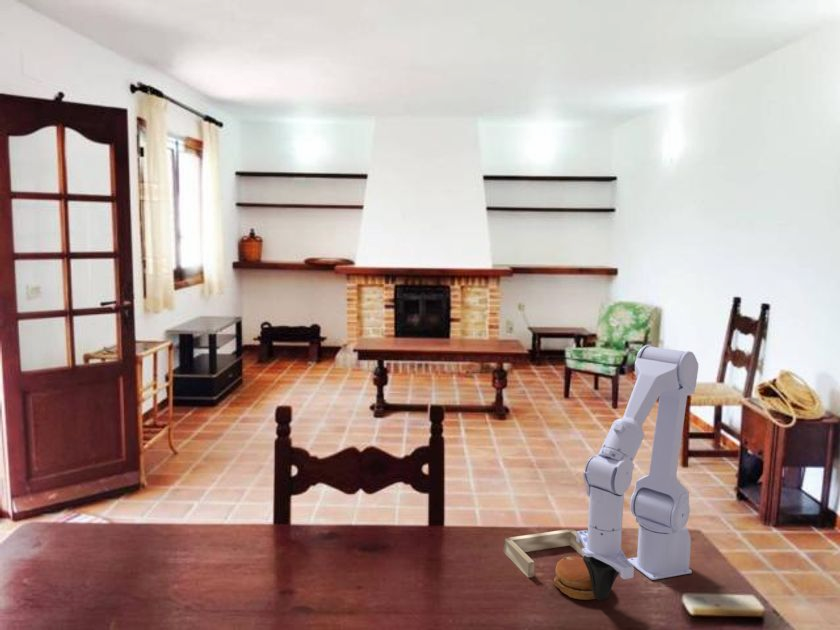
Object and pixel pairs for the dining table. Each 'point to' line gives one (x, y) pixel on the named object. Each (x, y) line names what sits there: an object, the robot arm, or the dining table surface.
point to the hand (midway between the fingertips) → (601, 597)
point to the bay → (538, 546)
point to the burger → (574, 578)
